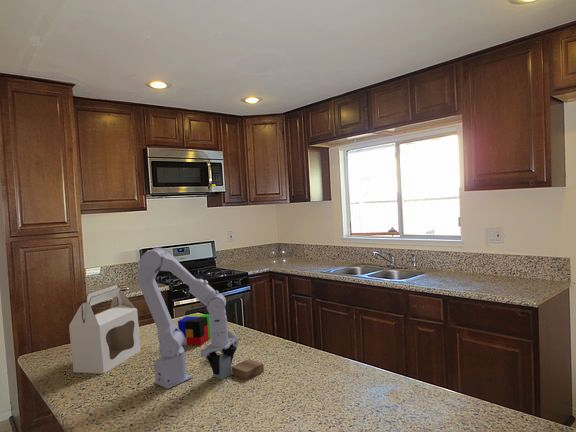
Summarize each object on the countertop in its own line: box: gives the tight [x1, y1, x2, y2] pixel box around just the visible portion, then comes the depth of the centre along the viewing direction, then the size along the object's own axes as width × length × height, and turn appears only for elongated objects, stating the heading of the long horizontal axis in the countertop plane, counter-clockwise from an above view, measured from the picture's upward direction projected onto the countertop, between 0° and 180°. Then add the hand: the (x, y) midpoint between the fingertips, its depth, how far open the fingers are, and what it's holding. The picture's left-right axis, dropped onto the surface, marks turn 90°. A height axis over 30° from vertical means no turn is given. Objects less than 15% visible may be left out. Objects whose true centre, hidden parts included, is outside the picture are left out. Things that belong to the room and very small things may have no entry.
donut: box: [218, 328, 239, 354], centre depth 152 cm, size 10×4×10 cm, turn 61°
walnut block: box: [231, 358, 265, 381], centre depth 135 cm, size 8×8×3 cm
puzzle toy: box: [177, 313, 211, 346], centre depth 170 cm, size 10×10×10 cm
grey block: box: [212, 353, 233, 380], centre depth 134 cm, size 5×5×6 cm
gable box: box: [68, 284, 141, 375], centre depth 154 cm, size 22×13×28 cm, turn 165°
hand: (222, 371), depth 134 cm, fingers closed on grey block, 4 cm apart
